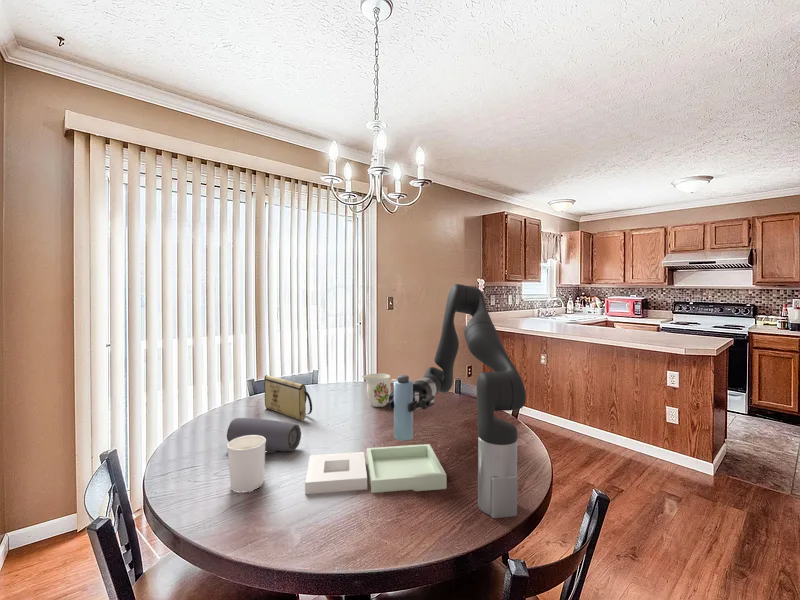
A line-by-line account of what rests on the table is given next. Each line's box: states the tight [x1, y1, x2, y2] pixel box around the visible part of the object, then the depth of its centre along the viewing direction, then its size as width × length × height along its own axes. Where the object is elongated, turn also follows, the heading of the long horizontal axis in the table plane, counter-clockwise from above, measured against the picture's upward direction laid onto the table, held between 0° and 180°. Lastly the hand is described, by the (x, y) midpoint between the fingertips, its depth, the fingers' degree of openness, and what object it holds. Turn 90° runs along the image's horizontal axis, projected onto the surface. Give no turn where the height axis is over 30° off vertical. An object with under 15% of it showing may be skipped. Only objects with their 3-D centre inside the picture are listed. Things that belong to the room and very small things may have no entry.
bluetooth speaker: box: [226, 417, 302, 453], centre depth 127 cm, size 23×9×10 cm, turn 74°
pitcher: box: [361, 373, 397, 408], centre depth 175 cm, size 11×18×14 cm, turn 111°
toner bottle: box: [393, 374, 414, 442], centre depth 110 cm, size 6×6×18 cm
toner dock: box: [304, 451, 368, 495], centre depth 108 cm, size 16×16×4 cm
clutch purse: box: [263, 374, 313, 422], centre depth 163 cm, size 30×7×15 cm, turn 51°
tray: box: [366, 443, 447, 494], centre depth 111 cm, size 20×20×4 cm
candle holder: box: [226, 435, 266, 492], centre depth 104 cm, size 10×10×12 cm
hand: (399, 407), depth 108 cm, fingers closed on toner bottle, 5 cm apart
